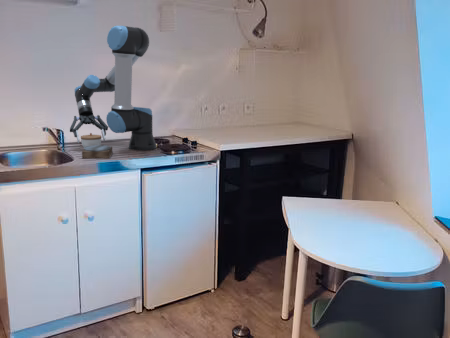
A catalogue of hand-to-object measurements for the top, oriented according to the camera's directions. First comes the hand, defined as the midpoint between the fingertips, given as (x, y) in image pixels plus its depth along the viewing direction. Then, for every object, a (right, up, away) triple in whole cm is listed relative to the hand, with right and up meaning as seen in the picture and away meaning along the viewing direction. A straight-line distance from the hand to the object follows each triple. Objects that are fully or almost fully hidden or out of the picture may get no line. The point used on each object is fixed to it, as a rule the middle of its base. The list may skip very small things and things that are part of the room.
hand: (91, 140), depth 224 cm
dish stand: (+7, -8, -11) cm, 15 cm away
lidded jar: (-1, -5, +3) cm, 6 cm away
